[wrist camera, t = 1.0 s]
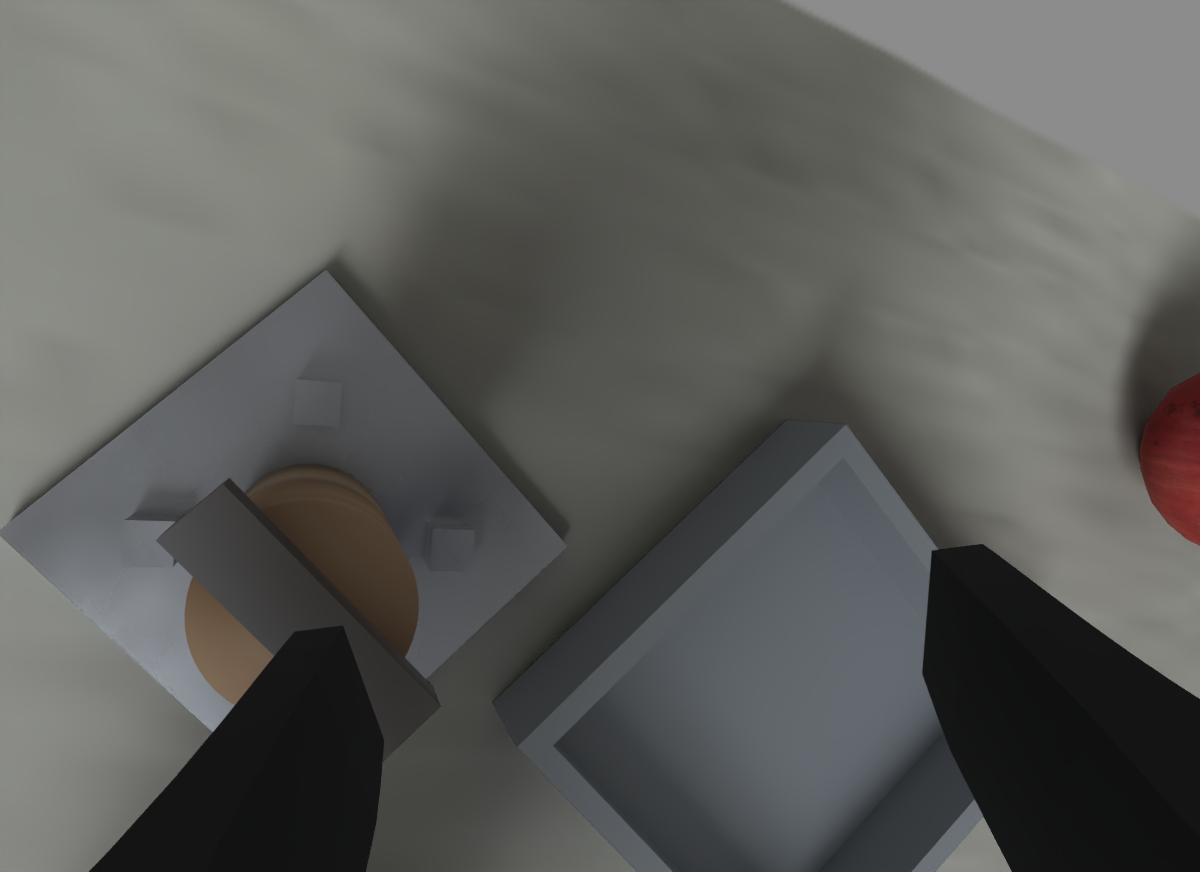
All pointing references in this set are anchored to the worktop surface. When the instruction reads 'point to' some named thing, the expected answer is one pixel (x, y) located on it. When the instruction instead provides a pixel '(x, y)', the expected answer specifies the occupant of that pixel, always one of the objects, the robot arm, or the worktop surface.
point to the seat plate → (269, 443)
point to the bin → (759, 682)
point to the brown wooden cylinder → (301, 586)
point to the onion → (1175, 458)
